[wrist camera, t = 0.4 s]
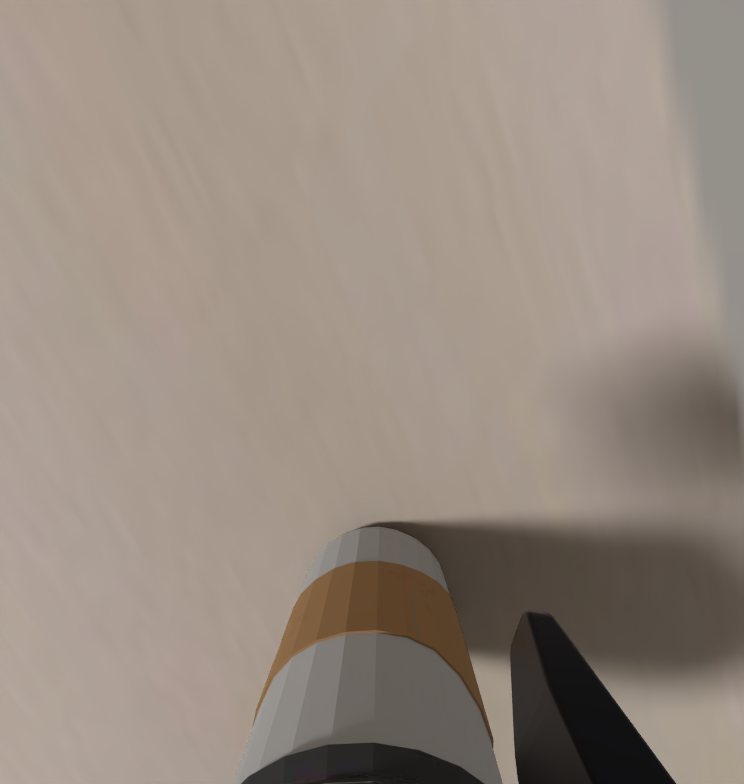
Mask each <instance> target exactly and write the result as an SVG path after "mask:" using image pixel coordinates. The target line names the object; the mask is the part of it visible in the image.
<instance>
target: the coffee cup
mask: <svg viewBox="0 0 744 784" xmlns="http://www.w3.org/2000/svg"><path fill="white" fill-rule="evenodd" d="M233 784H503V783H502V779H501V776H500V772H499V769H498V765H497V762H496V758H495V755H494V751H493V736H492V733H491V730H490V726H489V723H488V719H487V716H486V712H485V709H484V705H483V702H482V698H481V695H480V692H479V688H478V685H477V681H476V678H475V674H474V671H473V667H472V664H471V660H470V657H469V653H468V650H467V647H466V643H465V640H464V636H463V633H462V629H461V626H460V622H459V619H458V615H457V612H456V609H455V607H454V604H453V601H452V599H451V596H450V594H449V591H448V588H447V584H446V581H445V578H444V575H443V572H442V569H441V566H440V564H439V562H438V561H437V559H436V558H435V557H434V555H433V554H432V552H431V551H430V550H429V549H428V548H427V547H426V546H424V545H423V544H422V543H421V542H419V541H418V540H417V539H415V538H414V537H411V536H410V535H407V534H405V533H403V532H400V531H398V530H396V529H391V528H385V527H363V528H360V529H356V530H353V531H350V532H347V533H345V534H342V535H341V536H339V537H337V538H336V539H334V540H333V541H331V542H329V543H328V544H327V545H326V546H325V547H324V548H323V549H322V550H321V551H320V552H319V553H318V554H317V556H316V557H315V559H314V561H313V563H312V565H311V567H310V569H309V571H308V574H307V577H306V579H305V582H304V585H303V588H302V591H301V593H300V596H299V598H298V600H297V602H296V604H295V606H294V608H293V610H292V613H291V616H290V619H289V621H288V624H287V627H286V629H285V632H284V635H283V638H282V640H281V643H280V646H279V649H278V651H277V654H276V657H275V660H274V662H273V665H272V668H271V670H270V673H269V676H268V679H267V681H266V684H265V687H264V690H263V692H262V695H261V698H260V701H259V703H258V706H257V709H256V714H255V718H254V723H253V727H252V731H251V733H250V736H249V739H248V742H247V745H246V747H245V750H244V753H243V756H242V759H241V761H240V764H239V767H238V770H237V773H236V775H235V778H234V781H233Z"/></svg>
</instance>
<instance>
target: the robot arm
mask: <svg viewBox="0 0 744 784" xmlns="http://www.w3.org/2000/svg"><path fill="white" fill-rule="evenodd" d="M510 660H511V682H512V704H513V726H514V745H515V759H516V767H517V775H518V782H519V784H676V783H675V781H674V780H673V779H672V777H671V776H670V775H669V773H668V772H667V771H666V769H665V768H664V766H663V765H662V764H661V762H660V761H659V760H658V758H657V757H656V756H655V754H654V753H653V752H652V750H651V749H650V747H649V746H648V745H647V743H646V742H645V741H644V739H643V738H642V737H641V735H640V734H639V733H638V731H637V730H636V728H635V727H634V726H633V724H632V723H631V722H630V720H629V719H628V718H627V716H626V715H625V714H624V712H623V711H622V709H621V708H620V707H619V705H618V704H617V703H616V701H615V700H614V699H613V697H612V696H611V694H610V693H609V692H608V690H607V689H606V688H605V686H604V685H603V684H602V682H601V681H600V680H599V678H598V677H597V675H596V674H595V673H594V671H593V670H592V669H591V667H590V666H589V665H588V663H587V662H586V661H585V659H584V658H583V656H582V655H581V654H580V652H579V651H578V650H577V648H576V647H575V646H574V644H573V643H572V641H571V640H570V639H569V637H568V636H567V635H566V633H565V632H564V631H563V629H562V628H561V627H560V625H559V624H558V622H557V621H556V620H555V618H554V617H553V616H552V615H550V614H549V613H544V612H537V611H530V610H528V611H525V612H524V613H523V615H522V617H521V619H520V622H519V625H518V628H517V630H516V633H515V636H514V639H513V642H512V645H511V655H510Z"/></svg>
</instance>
